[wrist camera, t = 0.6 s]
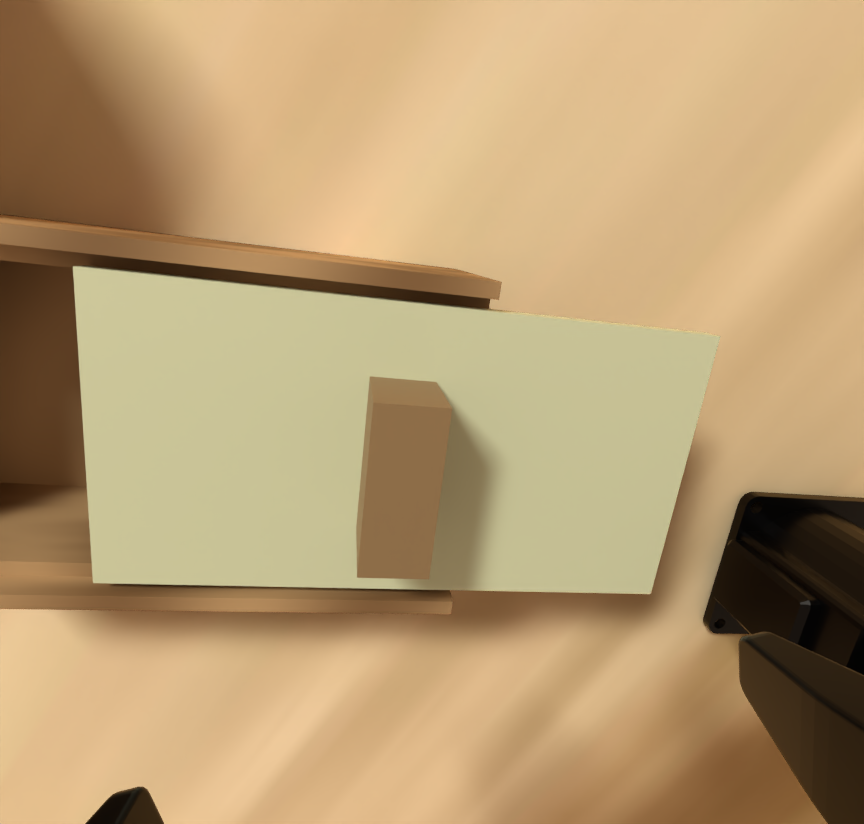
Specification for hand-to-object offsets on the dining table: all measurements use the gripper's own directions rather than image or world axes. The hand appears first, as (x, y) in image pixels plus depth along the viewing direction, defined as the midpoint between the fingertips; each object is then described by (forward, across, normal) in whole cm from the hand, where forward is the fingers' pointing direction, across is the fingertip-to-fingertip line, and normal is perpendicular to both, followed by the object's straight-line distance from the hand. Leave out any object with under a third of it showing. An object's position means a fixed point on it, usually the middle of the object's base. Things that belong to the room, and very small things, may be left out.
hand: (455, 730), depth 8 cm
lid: (+7, 0, -2) cm, 7 cm away
